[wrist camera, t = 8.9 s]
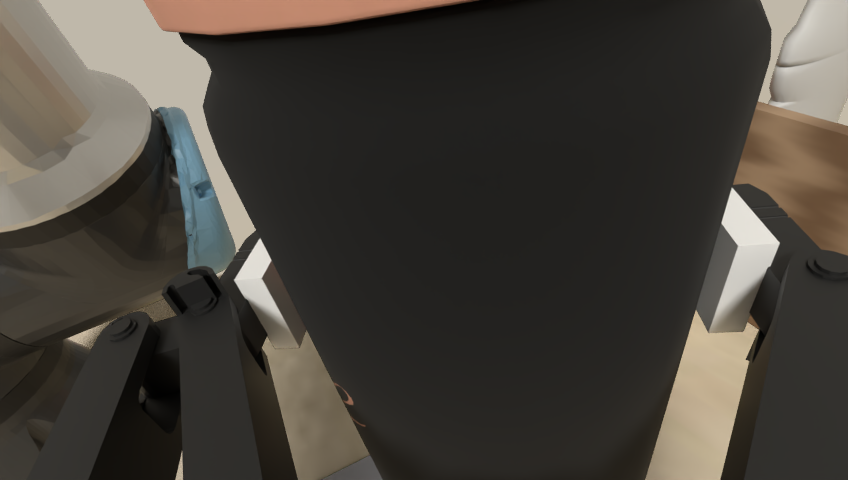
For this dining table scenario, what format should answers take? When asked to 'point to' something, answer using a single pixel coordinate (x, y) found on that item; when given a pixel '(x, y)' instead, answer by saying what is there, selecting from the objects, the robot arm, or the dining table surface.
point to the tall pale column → (814, 62)
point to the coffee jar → (487, 208)
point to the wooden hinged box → (800, 171)
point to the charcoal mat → (357, 471)
